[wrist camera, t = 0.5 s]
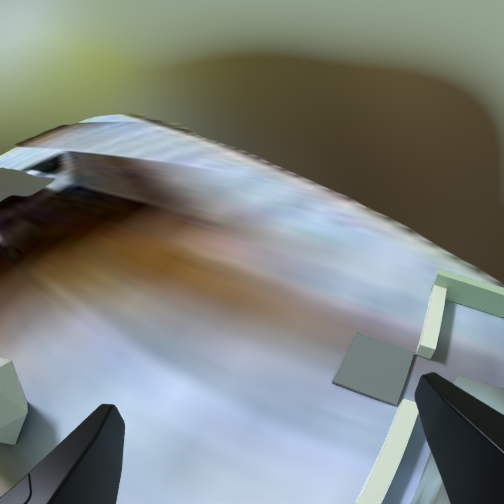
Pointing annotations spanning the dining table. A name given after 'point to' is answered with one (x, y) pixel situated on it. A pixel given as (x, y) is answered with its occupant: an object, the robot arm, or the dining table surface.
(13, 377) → the die
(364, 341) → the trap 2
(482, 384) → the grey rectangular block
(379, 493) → the pale green open frame
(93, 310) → the dining table surface
